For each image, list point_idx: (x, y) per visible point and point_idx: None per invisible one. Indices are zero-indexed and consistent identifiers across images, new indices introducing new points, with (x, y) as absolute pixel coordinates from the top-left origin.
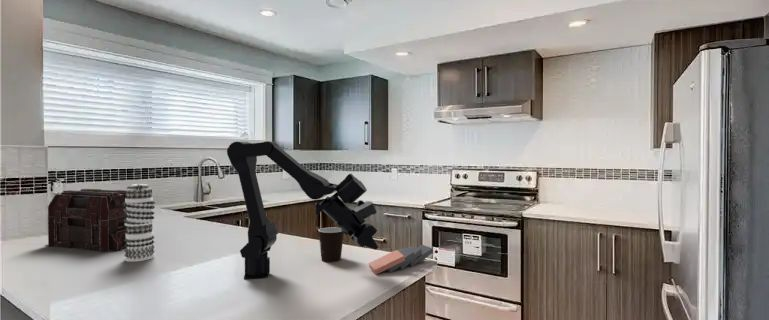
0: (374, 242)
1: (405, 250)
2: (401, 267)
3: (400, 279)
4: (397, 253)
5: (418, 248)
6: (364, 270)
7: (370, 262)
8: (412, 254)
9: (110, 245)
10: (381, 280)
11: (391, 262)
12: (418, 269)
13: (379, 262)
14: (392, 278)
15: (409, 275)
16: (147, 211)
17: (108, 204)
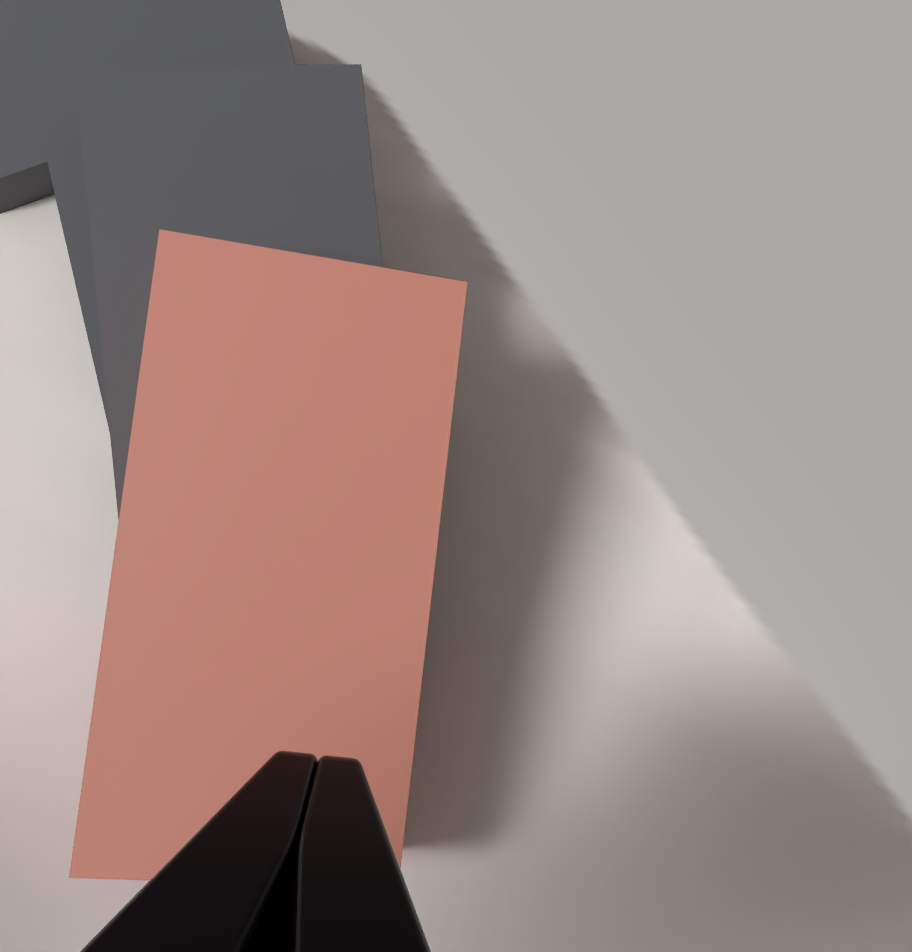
0: (418, 940)
1: (188, 108)
2: None
3: (716, 605)
4: (290, 303)
5: None
6: (67, 939)
7: (86, 832)
8: (360, 111)
9: None
10: (666, 886)
11: (436, 538)
12: (441, 220)
13: (254, 700)
14: (640, 686)
15: (609, 425)
16: None
17: None
